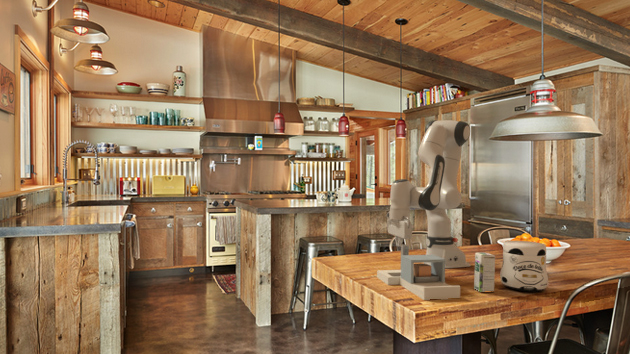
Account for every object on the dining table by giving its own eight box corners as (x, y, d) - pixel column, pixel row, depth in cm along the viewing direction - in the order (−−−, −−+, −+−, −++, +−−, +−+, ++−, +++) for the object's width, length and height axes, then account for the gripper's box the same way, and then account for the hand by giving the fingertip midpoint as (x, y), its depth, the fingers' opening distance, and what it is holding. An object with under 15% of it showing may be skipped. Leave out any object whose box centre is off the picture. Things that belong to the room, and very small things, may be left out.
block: (425, 278, 178) (425, 263, 178) (431, 281, 173) (431, 266, 173) (413, 278, 177) (414, 263, 177) (419, 281, 172) (419, 266, 172)
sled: (413, 268, 194) (414, 244, 194) (439, 281, 172) (439, 253, 172) (392, 269, 192) (392, 244, 192) (415, 282, 170) (415, 254, 170)
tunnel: (432, 276, 181) (433, 254, 181) (444, 282, 171) (445, 259, 171) (400, 277, 178) (401, 255, 178) (410, 283, 168) (411, 260, 168)
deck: (418, 276, 195) (418, 265, 195) (460, 298, 160) (460, 286, 160) (377, 277, 191) (377, 266, 191) (410, 300, 156) (411, 288, 156)
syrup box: (473, 289, 174) (474, 252, 174) (487, 289, 174) (488, 252, 174) (480, 293, 168) (480, 254, 168) (495, 292, 169) (495, 255, 169)
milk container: (527, 296, 164) (528, 248, 164) (490, 285, 180) (491, 241, 180) (558, 292, 172) (559, 245, 172) (520, 281, 187) (521, 239, 187)
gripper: (416, 217, 188) (415, 250, 189) (397, 213, 209) (397, 242, 209) (402, 217, 187) (401, 250, 187) (385, 213, 207) (384, 242, 207)
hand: (399, 246), depth 198 cm, fingers closed
